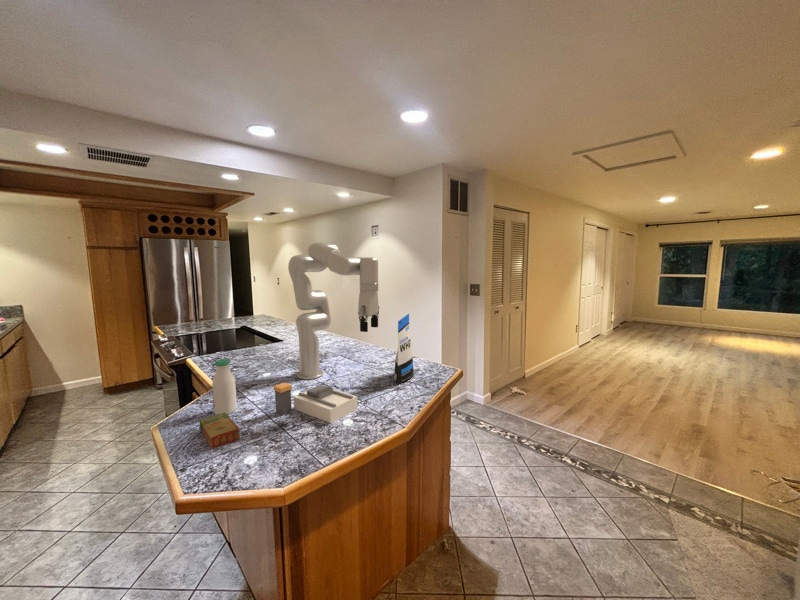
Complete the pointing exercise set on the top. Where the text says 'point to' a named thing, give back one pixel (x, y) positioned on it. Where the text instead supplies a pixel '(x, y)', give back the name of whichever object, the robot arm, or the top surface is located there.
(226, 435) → the carton
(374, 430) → the top surface
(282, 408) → the plug
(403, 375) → the protein powder
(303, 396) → the socket
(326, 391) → the shutter
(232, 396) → the milk bottle
